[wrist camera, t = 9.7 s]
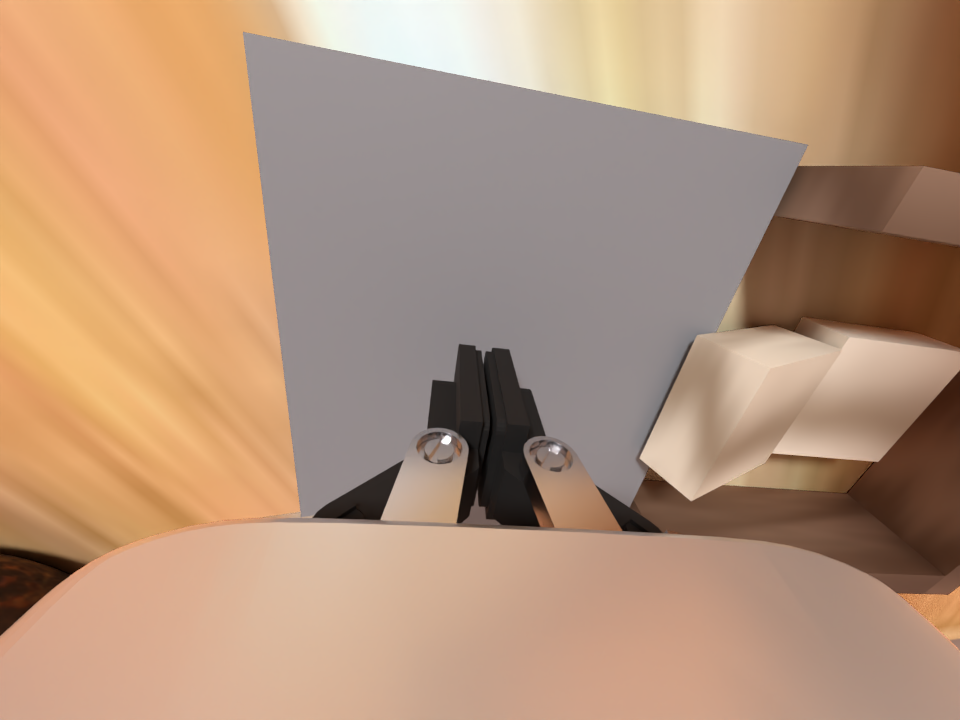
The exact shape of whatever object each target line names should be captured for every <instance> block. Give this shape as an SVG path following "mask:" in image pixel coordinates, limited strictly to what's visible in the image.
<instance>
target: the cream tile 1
mask: <svg viewBox="0 0 960 720" xmlns="http://www.w3.org/2000/svg"><path fill="white" fill-rule="evenodd" d="M841 352H842V350H841V349H839V348H836V347H833V346H830V345H828V344H825V343H822V342H820V341H817V340H814V339H811V338H809V337H806V336H803V335H800V334H798V333H795V332H792V331H790V330H787V329H784V328H781V327H779V326H776V325H769V326H761V327H754V328H746V329H739V330H731V331H724V332H716V333H709V334H701V335H697V336H696V338H695V341H694V343H693V345H692V347H691V349H690V351H689V353H688V355H687V358H686V360H685V362H684V364H683V366H682V368H681V370H680V373H679V375H678V377H677V379H676V381H675V383H674V385H673V388H672V390H671V392H670V394H669V396H668V398H667V400H666V403H665V405H664V407H663V409H662V411H661V413H660V415H659V418H658V420H657V422H656V424H655V426H654V428H653V430H652V432H651V435H650V437H649V439H648V441H647V443H646V445H645V447H644V450H643V452H642V454H641V456H640V459H641V460H642V461H643V462H644V463H646V464H647V465H648V466H649V467H650V468H652V469H653V470H654V471H655V472H656V473H658V474H659V475H660V476H661V477H662V478H664V479H665V480H666V481H667V482H668V483H670V484H671V485H672V486H673V487H674V488H676V489H677V490H678V491H679V492H680V493H682V494H683V495H684V496H685V497H686V498H688V499H689V500H690V501H693V500H695V499H697V498H699V497H701V496H702V495H704V494H706V493H708V492H710V491H712V490H714V489H716V488H718V487H720V486H722V485H724V484H726V483H728V482H729V481H731V480H733V479H735V478H737V477H739V476H741V475H743V474H745V473H747V472H749V471H751V470H753V469H755V468H756V467H758V466H760V465H762V464H764V463H765V462H766V461H767V459H768V458H769V457H770V455H771V454H772V452H773V451H774V449H775V448H776V446H777V445H778V443H779V442H780V441H781V439H782V438H783V436H784V435H785V433H786V432H787V430H788V429H789V427H790V426H791V425H792V423H793V422H794V420H795V419H796V417H797V416H798V414H799V413H800V411H801V410H802V409H803V407H804V406H805V404H806V403H807V401H808V400H809V398H810V397H811V395H812V394H813V392H814V391H815V390H816V388H817V387H818V385H819V384H820V382H821V381H822V379H823V378H824V376H825V375H826V374H827V372H828V371H829V369H830V368H831V366H832V365H833V363H834V362H835V360H836V359H837V358H838V356H839V355H840V353H841Z"/></svg>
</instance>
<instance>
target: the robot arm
mask: <svg viewBox="0 0 960 720" xmlns="http://www.w3.org/2000/svg"><path fill="white" fill-rule="evenodd" d="M477 490H478V505H479V507H485V514H486V519H489V520H496V521H497V522H499V523H500V524H501V525H484V524H462V522H463V521H464V520H466V519H467V518H468V517H469V515H470V510H471V506H474V502H475V498H476V493H477ZM0 720H960V650H959V649H958V648H957V647H956V646H955V645H954V644H953V643H952V642H951V641H950V640H949V639H948V638H947V637H946V636H944V635H943V634H942V633H941V632H940V631H939V630H938V629H937V628H936V627H935V626H934V625H933V624H932V623H931V622H929V621H928V620H927V619H926V618H925V617H924V616H923V615H921V614H920V613H919V612H918V611H917V610H916V609H915V608H913V607H912V606H911V605H910V604H909V603H908V602H907V601H905V600H904V599H903V598H902V597H901V596H900V595H898V594H897V593H896V592H895V591H893V590H892V589H891V588H889V587H888V586H887V585H885V584H884V583H882V582H881V581H879V580H878V579H876V578H874V577H872V576H870V575H868V574H867V573H865V572H863V571H861V570H859V569H857V568H854V567H852V566H850V565H848V564H846V563H843V562H840V561H838V560H835V559H832V558H829V557H827V556H824V555H821V554H819V553H815V552H812V551H808V550H804V549H800V548H797V547H793V546H789V545H783V544H777V543H772V542H766V541H757V540H747V539H736V538H726V537H713V536H697V535H686V534H682V533H678V532H674V531H670V530H666V532H665V533H662V531H661V530H660V529H659V528H658V527H657V526H655V525H654V524H653V523H652V522H650V521H649V520H648V519H646V518H645V517H643V516H642V515H640V514H639V513H637V512H636V511H634V510H633V509H631V508H630V507H628V506H626V505H625V504H623V503H622V502H620V501H619V500H617V499H616V498H614V497H613V496H611V495H610V494H608V493H607V492H605V491H604V490H602V489H601V488H599V487H598V486H596V485H595V484H594V482H593V481H592V479H591V477H590V476H589V474H588V472H587V471H586V469H585V467H584V465H583V464H582V462H581V460H580V459H579V457H578V455H577V454H576V453H575V451H574V450H573V449H572V448H571V447H570V446H569V445H567V444H566V443H565V442H563V441H561V440H559V439H556V438H552V437H548V436H546V435H545V432H544V428H543V425H542V422H541V419H540V416H539V413H538V410H537V407H536V403H535V400H534V397H533V394H532V391H531V390H530V389H526V388H520V386H519V383H518V379H517V375H516V372H515V368H514V365H513V361H512V357H511V354H510V350H509V349H502V348H492V350H491V352H490V351H486V352H485V357H484V363H483V359H482V351H481V350H476V346H474V345H465V344H459V346H458V353H457V360H456V368H455V375H454V382H451V381H441V380H432V388H431V398H430V407H429V416H428V425H427V429H426V430H424V431H421V432H419V433H418V434H417V435H415V436H414V438H413V439H412V441H411V443H410V445H409V448H408V450H407V453H406V455H405V458H404V460H402V461H401V462H399V463H397V464H395V465H394V466H392V467H390V468H389V469H387V470H385V471H383V472H382V473H380V474H378V475H376V476H375V477H373V478H371V479H370V480H368V481H366V482H364V483H363V484H361V485H359V486H357V487H356V488H354V489H352V490H351V491H349V492H347V493H345V494H344V495H342V496H340V497H339V498H337V499H335V500H333V501H332V502H330V503H328V504H327V505H325V506H324V507H323V508H321V509H320V510H318V511H317V512H316V514H315V515H312V516H306V517H302V514H301V512H297V513H290V514H283V515H276V516H269V517H262V518H249V519H235V520H224V521H217V522H211V523H205V524H199V525H192V526H188V527H184V528H180V529H176V530H172V531H168V532H164V533H160V534H156V535H153V536H150V537H147V538H144V539H141V540H138V541H135V542H132V543H130V544H127V545H125V546H122V547H120V548H117V549H115V550H113V551H111V552H109V553H107V554H105V555H103V556H101V557H99V558H97V559H95V560H93V561H92V562H90V563H88V564H87V565H85V566H84V567H82V568H81V569H79V570H78V571H76V572H74V573H73V574H72V575H70V576H69V577H68V578H66V579H65V580H64V581H63V582H61V583H60V584H59V585H57V586H56V587H55V588H53V589H52V590H51V591H50V592H49V593H48V594H46V595H45V596H44V597H43V598H42V599H40V600H39V601H38V602H37V603H36V604H35V605H34V606H32V607H31V608H30V609H29V610H28V611H27V612H26V613H25V614H24V615H23V616H22V617H21V618H19V619H18V620H17V621H16V622H15V623H14V624H13V625H12V626H11V627H10V628H9V629H7V630H6V631H5V632H4V633H3V634H2V635H1V636H0Z"/></svg>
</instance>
